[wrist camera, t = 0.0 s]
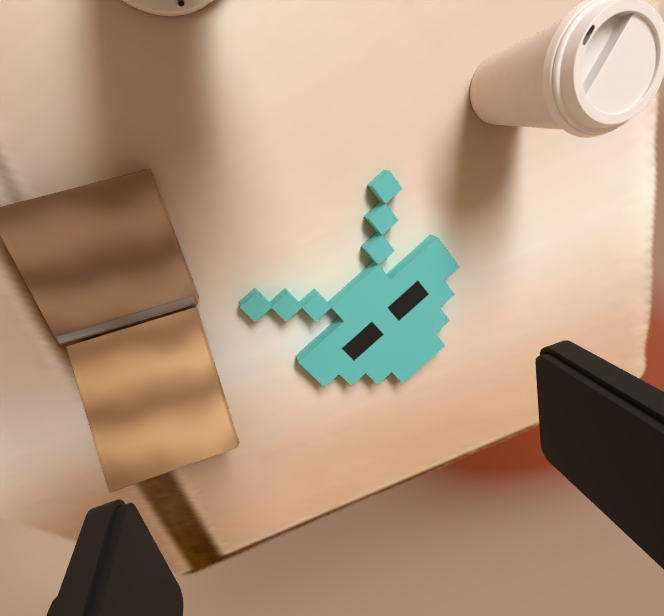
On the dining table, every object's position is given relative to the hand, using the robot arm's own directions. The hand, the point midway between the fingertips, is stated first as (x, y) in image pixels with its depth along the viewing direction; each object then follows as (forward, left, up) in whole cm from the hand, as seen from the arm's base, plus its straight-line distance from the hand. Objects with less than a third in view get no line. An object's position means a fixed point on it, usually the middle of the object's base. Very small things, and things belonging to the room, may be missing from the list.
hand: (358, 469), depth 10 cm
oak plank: (+13, -14, -33) cm, 38 cm away
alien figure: (+12, +10, -37) cm, 41 cm away
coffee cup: (-6, +28, -37) cm, 47 cm away
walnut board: (-1, -13, -37) cm, 39 cm away
